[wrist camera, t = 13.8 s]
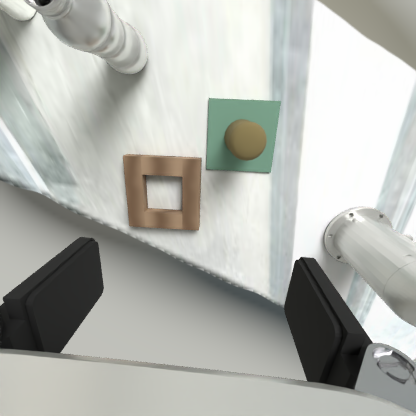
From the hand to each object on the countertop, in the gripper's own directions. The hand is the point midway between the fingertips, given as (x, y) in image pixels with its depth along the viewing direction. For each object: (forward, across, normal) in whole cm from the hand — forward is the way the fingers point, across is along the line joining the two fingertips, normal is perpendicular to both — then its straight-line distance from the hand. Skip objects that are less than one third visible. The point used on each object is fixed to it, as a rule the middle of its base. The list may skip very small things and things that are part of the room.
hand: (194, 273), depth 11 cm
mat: (+33, -4, -5) cm, 34 cm away
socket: (+33, +10, +6) cm, 35 cm away
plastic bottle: (+33, +15, -16) cm, 40 cm away
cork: (+33, -4, -5) cm, 34 cm away
